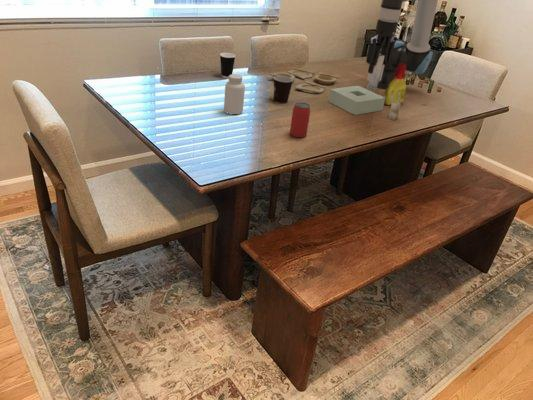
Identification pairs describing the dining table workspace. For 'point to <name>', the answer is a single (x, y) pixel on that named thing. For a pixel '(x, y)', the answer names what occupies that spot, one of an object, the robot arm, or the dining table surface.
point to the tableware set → (309, 86)
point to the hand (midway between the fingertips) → (373, 80)
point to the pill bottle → (234, 94)
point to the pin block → (356, 100)
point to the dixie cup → (227, 64)
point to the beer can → (300, 119)
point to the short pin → (394, 110)
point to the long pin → (376, 73)
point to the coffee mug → (282, 88)
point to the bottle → (396, 86)
